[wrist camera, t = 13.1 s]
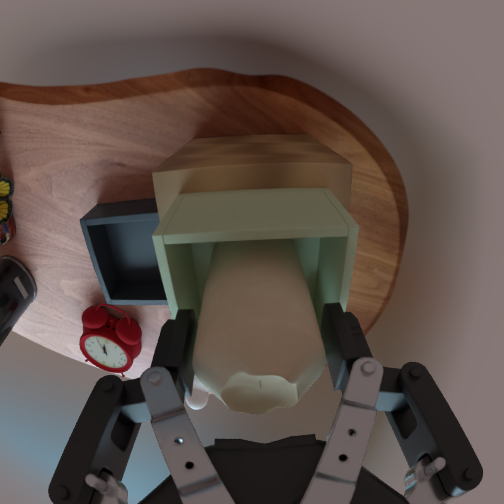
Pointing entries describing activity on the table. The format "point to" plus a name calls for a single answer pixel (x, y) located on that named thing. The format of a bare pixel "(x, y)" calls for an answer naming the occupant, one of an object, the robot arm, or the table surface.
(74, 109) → the table surface
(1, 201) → the butterfly
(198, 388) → the toy creature
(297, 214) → the pale bin
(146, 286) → the dark bin
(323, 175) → the stand
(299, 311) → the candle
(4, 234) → the dentures model
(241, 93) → the table surface
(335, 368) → the robot arm
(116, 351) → the alarm clock
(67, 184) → the table surface
